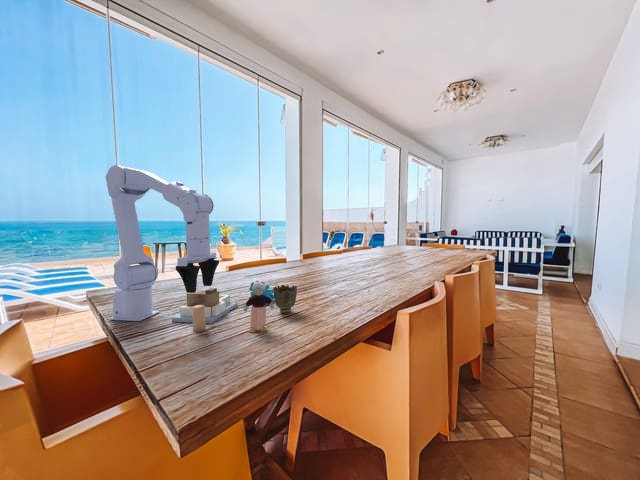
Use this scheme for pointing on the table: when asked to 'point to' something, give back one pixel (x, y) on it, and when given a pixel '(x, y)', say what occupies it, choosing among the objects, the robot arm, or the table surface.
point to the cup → (285, 298)
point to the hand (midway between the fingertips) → (199, 288)
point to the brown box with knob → (203, 298)
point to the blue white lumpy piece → (266, 291)
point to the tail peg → (198, 317)
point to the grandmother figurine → (258, 307)
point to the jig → (207, 311)
